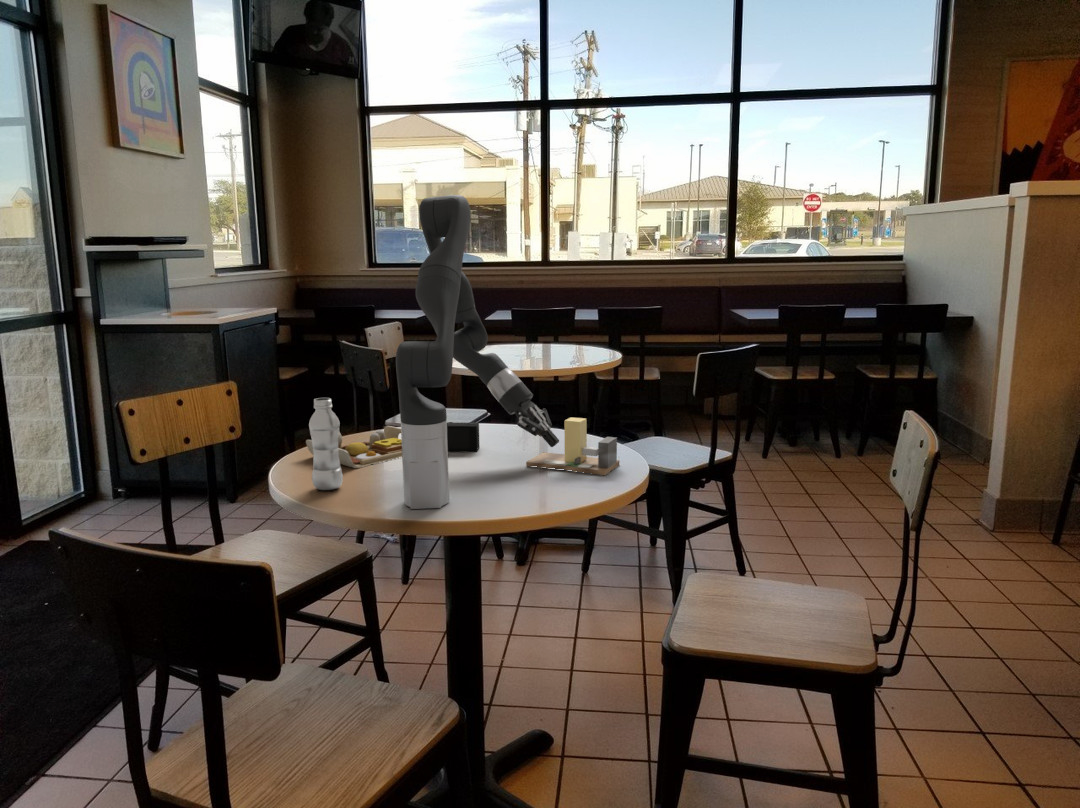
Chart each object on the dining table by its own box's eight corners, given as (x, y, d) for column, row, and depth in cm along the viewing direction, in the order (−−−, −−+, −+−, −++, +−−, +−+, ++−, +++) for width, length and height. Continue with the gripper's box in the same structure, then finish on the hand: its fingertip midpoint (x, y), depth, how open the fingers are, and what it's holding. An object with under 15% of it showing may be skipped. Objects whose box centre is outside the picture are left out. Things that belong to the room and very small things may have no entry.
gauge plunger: (561, 463, 186) (560, 422, 184) (571, 457, 191) (571, 417, 189) (591, 467, 182) (591, 425, 181) (600, 460, 188) (600, 419, 186)
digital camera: (480, 447, 209) (480, 421, 207) (477, 452, 203) (476, 425, 202) (442, 446, 209) (441, 421, 208) (437, 451, 204) (436, 425, 203)
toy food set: (347, 472, 187) (345, 441, 185) (305, 460, 199) (303, 430, 197) (429, 452, 205) (428, 423, 204) (387, 441, 217) (385, 414, 216)
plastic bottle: (331, 483, 177) (325, 395, 173) (349, 488, 173) (344, 398, 169) (306, 489, 172) (300, 399, 168) (325, 495, 168) (319, 403, 164)
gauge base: (526, 466, 189) (525, 437, 187) (543, 456, 198) (543, 428, 196) (604, 475, 180) (605, 445, 179) (619, 465, 189) (619, 435, 188)
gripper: (506, 385, 185) (554, 440, 182) (531, 376, 197) (576, 429, 194) (487, 405, 188) (534, 460, 186) (512, 396, 200) (557, 447, 197)
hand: (555, 444), depth 190 cm, fingers closed
